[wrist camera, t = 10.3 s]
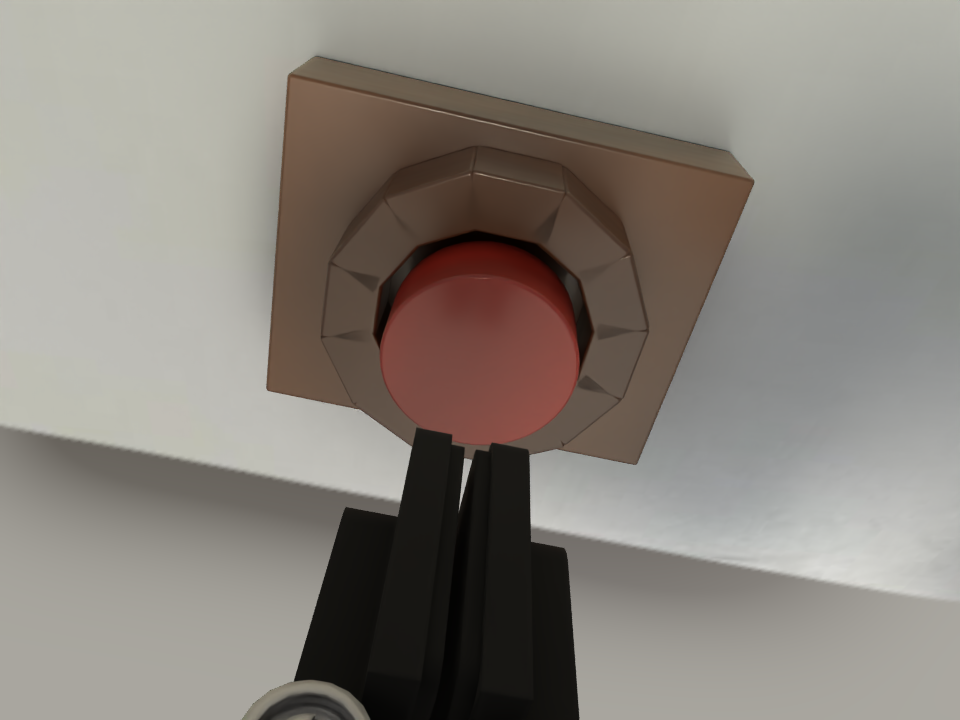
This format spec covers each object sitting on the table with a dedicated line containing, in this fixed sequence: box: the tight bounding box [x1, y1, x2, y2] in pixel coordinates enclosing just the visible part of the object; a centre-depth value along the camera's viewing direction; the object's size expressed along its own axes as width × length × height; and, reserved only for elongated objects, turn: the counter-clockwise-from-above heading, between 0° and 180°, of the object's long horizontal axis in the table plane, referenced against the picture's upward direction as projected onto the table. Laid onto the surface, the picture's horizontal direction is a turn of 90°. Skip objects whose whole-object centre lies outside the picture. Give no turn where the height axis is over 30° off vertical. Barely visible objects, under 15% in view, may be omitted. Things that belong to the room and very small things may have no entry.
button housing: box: [266, 57, 754, 465], centre depth 18 cm, size 10×8×4 cm
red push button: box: [379, 241, 580, 445], centre depth 15 cm, size 4×4×2 cm
